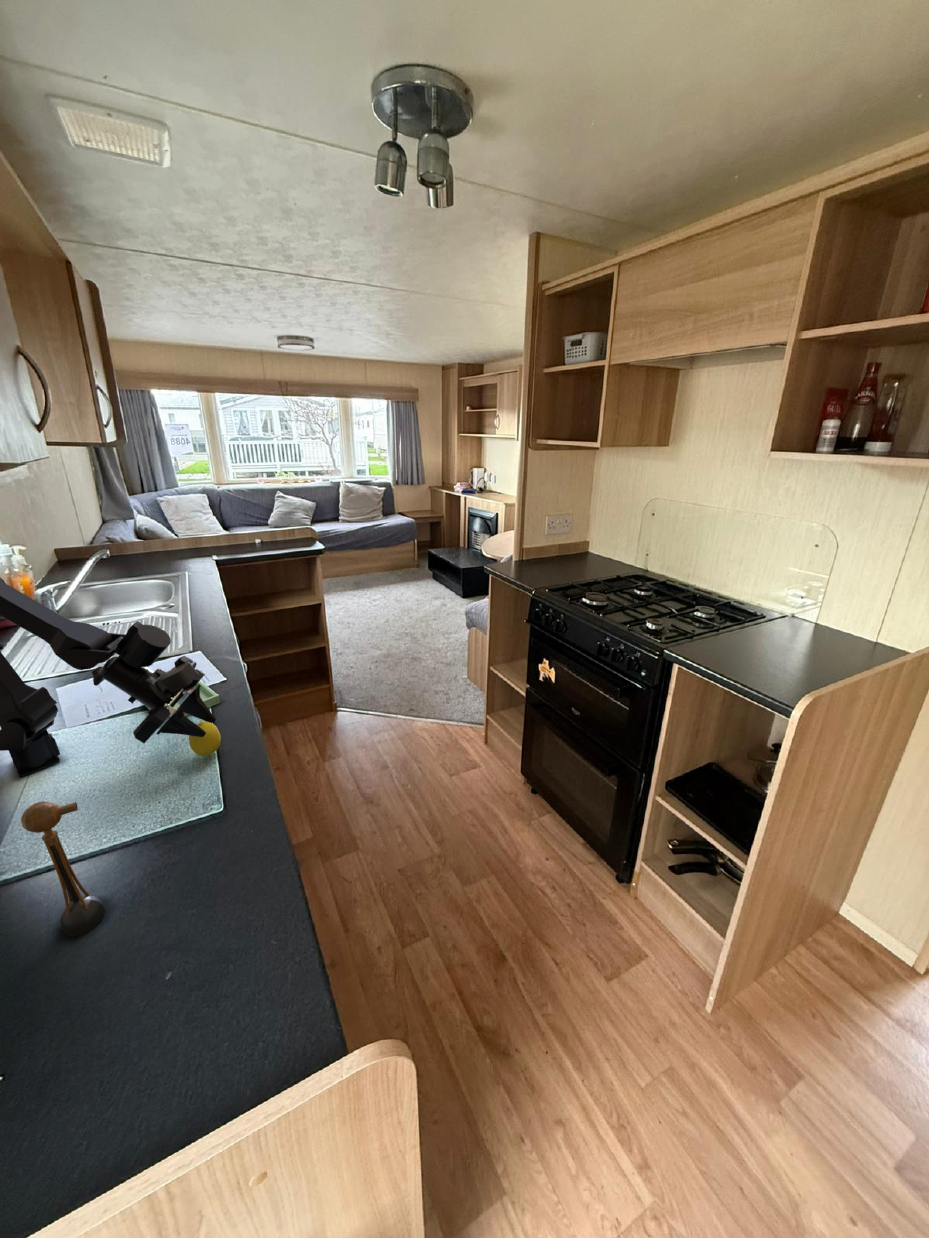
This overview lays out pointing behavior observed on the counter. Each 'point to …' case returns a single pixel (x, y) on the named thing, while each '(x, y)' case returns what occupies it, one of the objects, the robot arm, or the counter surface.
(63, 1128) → the counter surface
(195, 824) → the counter surface
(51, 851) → the wooden tabletop sculpture
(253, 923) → the counter surface
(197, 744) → the lemon
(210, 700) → the tray
